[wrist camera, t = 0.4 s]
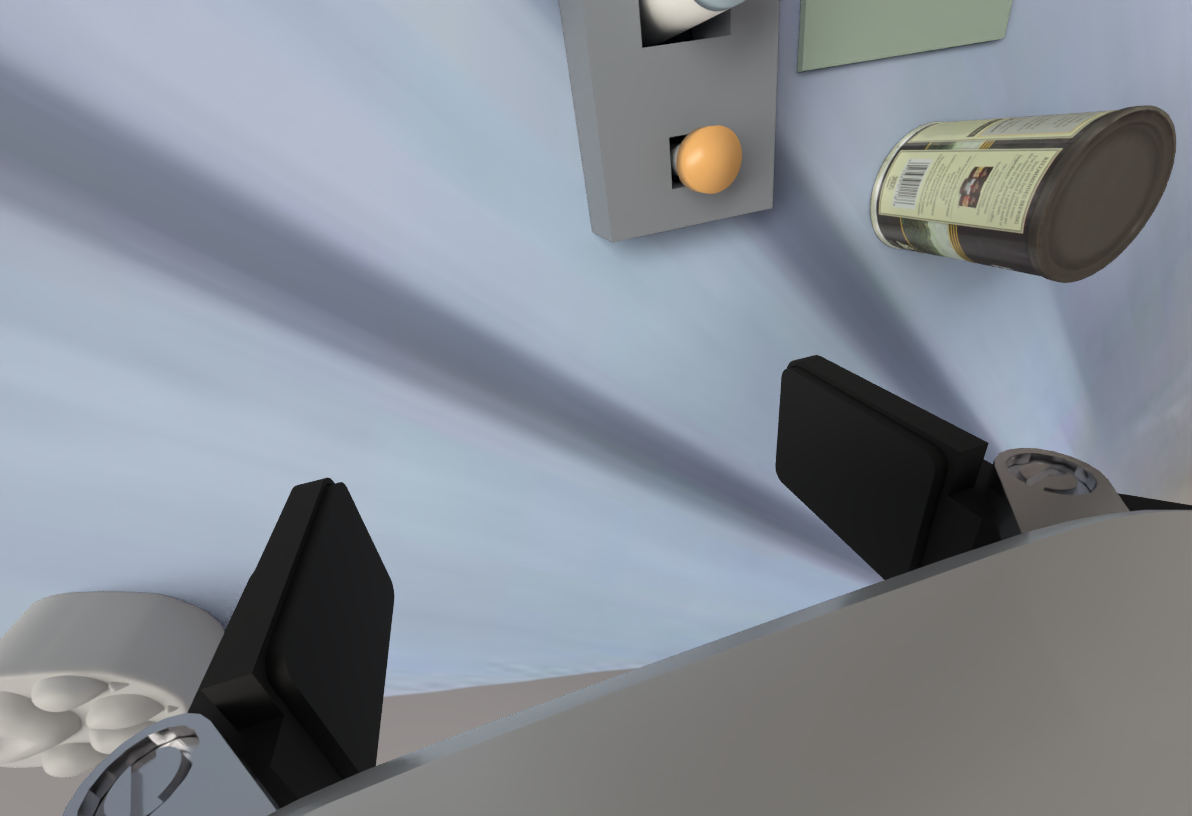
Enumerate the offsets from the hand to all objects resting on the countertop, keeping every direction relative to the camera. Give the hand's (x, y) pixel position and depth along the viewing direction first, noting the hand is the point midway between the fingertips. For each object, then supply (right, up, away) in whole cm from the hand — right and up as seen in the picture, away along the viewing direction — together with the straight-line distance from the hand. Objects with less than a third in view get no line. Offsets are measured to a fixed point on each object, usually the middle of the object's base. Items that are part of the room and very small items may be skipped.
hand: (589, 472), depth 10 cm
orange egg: (+6, +19, +23) cm, 31 cm away
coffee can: (+29, +21, +32) cm, 48 cm away
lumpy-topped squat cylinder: (-39, -18, +31) cm, 53 cm away
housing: (+4, +24, +23) cm, 33 cm away
